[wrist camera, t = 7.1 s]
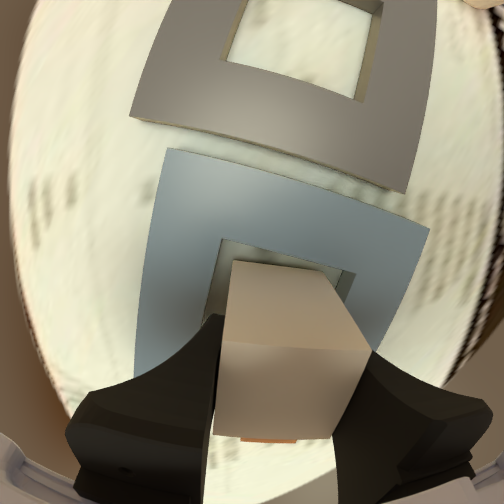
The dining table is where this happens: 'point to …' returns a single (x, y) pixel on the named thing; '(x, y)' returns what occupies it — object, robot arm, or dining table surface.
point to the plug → (285, 356)
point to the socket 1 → (296, 90)
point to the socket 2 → (262, 246)
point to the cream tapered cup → (484, 3)
